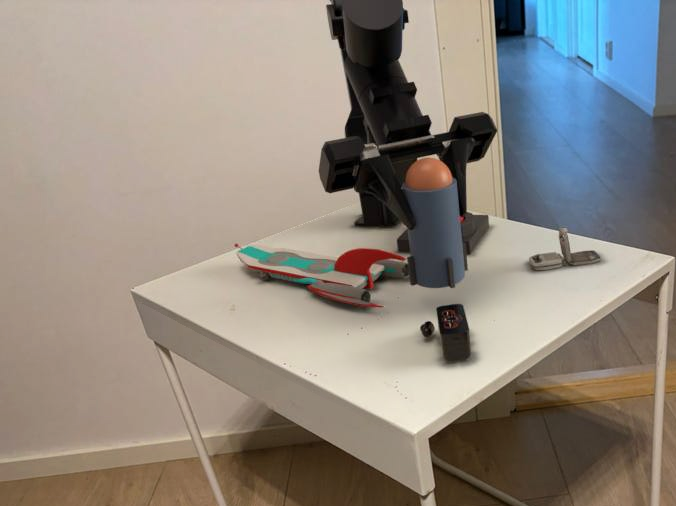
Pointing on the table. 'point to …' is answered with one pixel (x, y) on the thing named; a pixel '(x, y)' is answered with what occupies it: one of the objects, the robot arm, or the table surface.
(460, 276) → the toy rocket
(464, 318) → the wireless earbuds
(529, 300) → the table surface
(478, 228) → the box
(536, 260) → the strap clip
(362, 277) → the toy spaceship
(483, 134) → the robot arm
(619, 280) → the table surface
